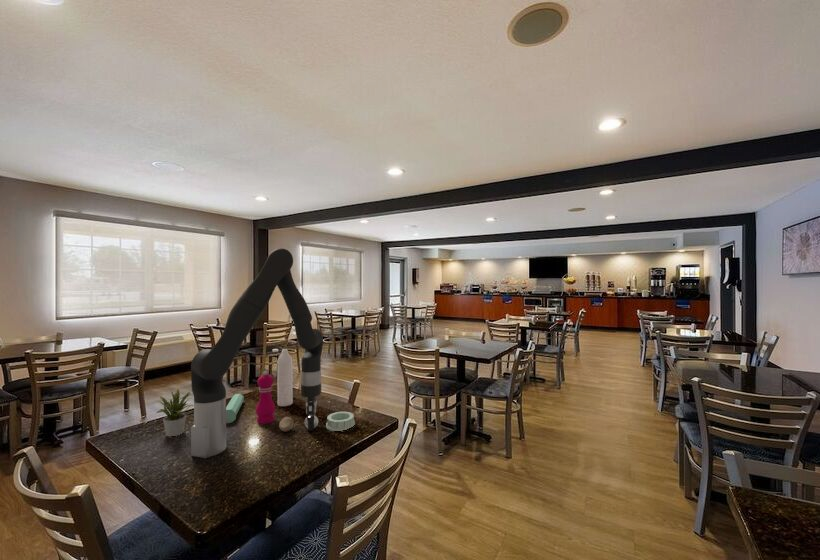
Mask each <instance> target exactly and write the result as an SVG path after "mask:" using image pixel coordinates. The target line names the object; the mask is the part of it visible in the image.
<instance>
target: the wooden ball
mask: <svg viewBox="0 0 820 560" xmlns="http://www.w3.org/2000/svg"><path fill="white" fill-rule="evenodd" d="M278 427H279V429H280V430H281V431H282V432H289V431H291V430H292V428H293V427H294V420H293V419H292V418H291V417H288V416H285V417H283V418H281V420H280V421H279V425H278Z"/></svg>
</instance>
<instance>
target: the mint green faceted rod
mask: <svg viewBox="0 0 820 560" xmlns="http://www.w3.org/2000/svg"><path fill="white" fill-rule="evenodd" d="M243 402H244V395H243V394H242V393H235V394H234V395H233V396H232V397H231V399H230V400H229V402H228V404H226V424H230V423H231V424H232V423H233V422H234V421H235V420H236V419H237V415H238V412H239V411H240V408H241V407H242V404H243Z"/></svg>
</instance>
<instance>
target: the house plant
mask: <svg viewBox="0 0 820 560" xmlns="http://www.w3.org/2000/svg"><path fill="white" fill-rule="evenodd" d="M170 392H171V395H172V398H170V399H169V401H168V400H166V398H165V397H162V395H156V396H157V397H158V398H159V399H161V401H160V400H158V399H157V400H156V402H159V403H161V404H162V405H163V408H160V409H159V410H158V411H157V412H156V413H155V414H158V413H159V414H160V413H164V414H165V415H166V416H165V417H164V418H162V420H163V425H164V431H165V436H166V435H167V436H176V437H178V436H177V435H179V436H181V435H183V434H182V433H184V430H185V425H186V424H185V423H186V420H187V414H186V413H181V412H182V411H183V410H184V409H185V408H186V410H188V409H189V408H190V407H193V406H194V403H193V404H191V405H190V404H189V405H188V403H187V402H188V401H190V399H191V397H190V398H189V396H191V395H193V392H192V390H189V391H188V392H187V393H186V394H185V395H184V396H182V397H181V395H180V390H179V388H177V390H176V391H175V393H173V391H172V390H170ZM180 400H181V401H180ZM180 434H181V435H180ZM167 436H166V437H167Z"/></svg>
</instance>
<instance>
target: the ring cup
mask: <svg viewBox="0 0 820 560" xmlns="http://www.w3.org/2000/svg"><path fill="white" fill-rule="evenodd" d="M326 421H327V422H326V423H325V428H326V430H327V431H330V432H334V431H341V432H344V431H343V430H347V429H349V428H351V427H353V426H354V425H355V426H356V421H355V415H354V413H352V412H349V411H337V412H332V413H330V414H328V415H327V418H326ZM355 426H354V427H355ZM354 427H353V428H354ZM347 431H348V430H347Z"/></svg>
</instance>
